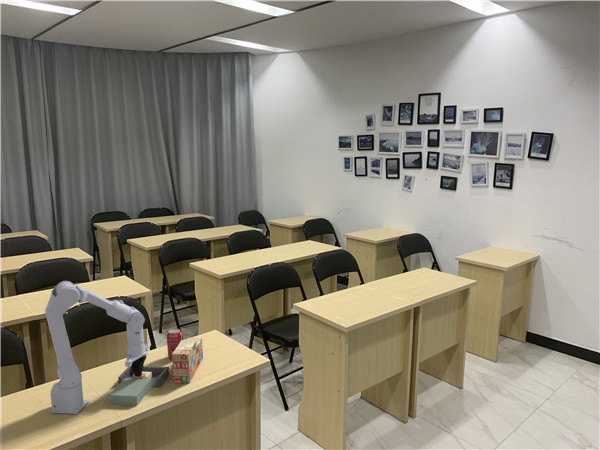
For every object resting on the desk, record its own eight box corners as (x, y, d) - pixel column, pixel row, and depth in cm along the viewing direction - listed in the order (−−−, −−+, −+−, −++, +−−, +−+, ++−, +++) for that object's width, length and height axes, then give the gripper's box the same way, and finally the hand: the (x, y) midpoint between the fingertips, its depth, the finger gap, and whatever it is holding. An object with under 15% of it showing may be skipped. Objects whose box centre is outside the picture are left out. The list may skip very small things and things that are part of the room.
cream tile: (141, 371, 178) (142, 376, 179) (137, 376, 174) (137, 381, 175) (151, 371, 178) (152, 376, 178) (147, 377, 174) (147, 381, 174)
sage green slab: (109, 404, 160) (109, 395, 160) (125, 386, 172) (125, 377, 171) (137, 405, 159) (136, 396, 159) (151, 387, 171) (150, 378, 170)
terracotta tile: (132, 375, 171) (135, 373, 173) (133, 385, 172) (136, 382, 174) (143, 376, 171) (145, 373, 173) (143, 386, 171) (146, 383, 173)
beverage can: (176, 352, 200) (175, 326, 198) (186, 356, 196) (184, 330, 194) (165, 358, 195) (163, 331, 193) (174, 362, 191) (172, 335, 189)
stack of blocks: (188, 358, 195) (187, 330, 193) (203, 358, 195) (202, 330, 193) (173, 383, 174) (171, 353, 172) (189, 383, 174) (188, 353, 172)
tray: (118, 385, 173) (118, 377, 172) (130, 373, 182) (129, 365, 181) (159, 387, 171) (159, 378, 171) (169, 374, 180) (168, 366, 180)
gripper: (137, 350, 161) (140, 386, 164) (154, 333, 175) (156, 366, 178) (118, 349, 162) (121, 385, 164) (136, 333, 176) (139, 366, 178)
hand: (138, 375), depth 171 cm, fingers closed
